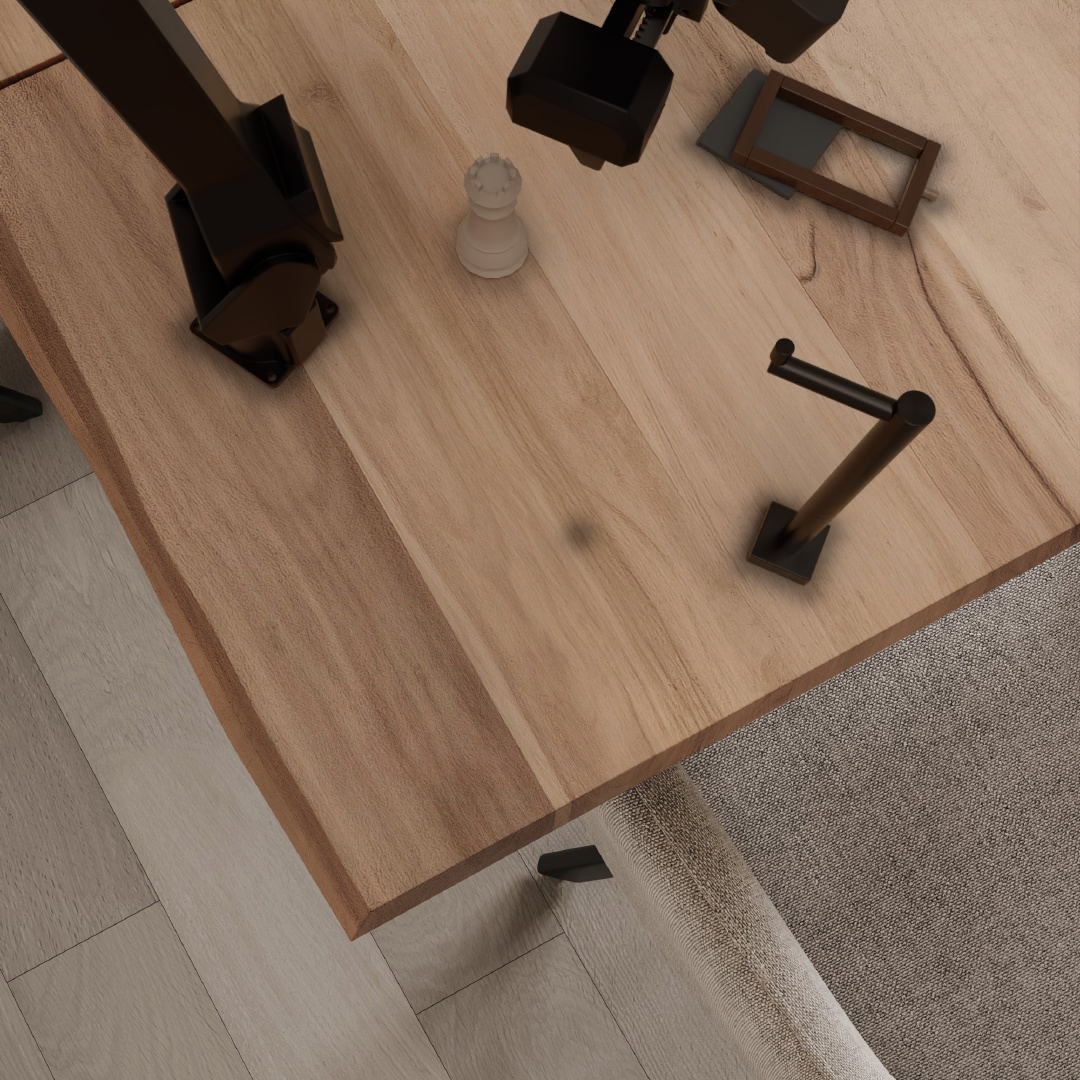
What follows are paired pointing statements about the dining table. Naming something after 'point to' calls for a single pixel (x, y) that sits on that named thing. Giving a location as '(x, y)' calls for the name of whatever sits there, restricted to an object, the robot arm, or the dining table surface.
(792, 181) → the rectangular frame
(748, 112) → the felt mat
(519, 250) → the rook chess piece
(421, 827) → the dining table surface
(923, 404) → the black hanging stand
